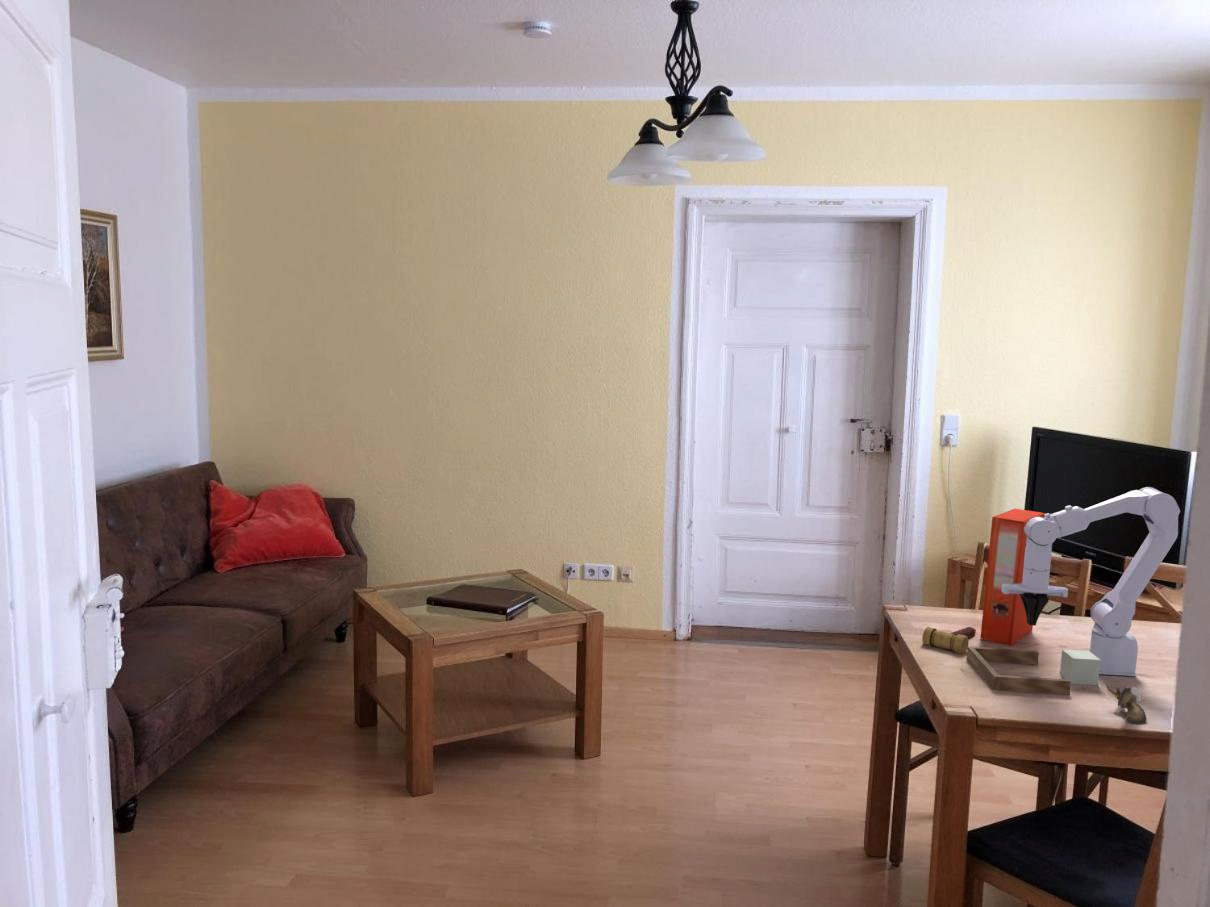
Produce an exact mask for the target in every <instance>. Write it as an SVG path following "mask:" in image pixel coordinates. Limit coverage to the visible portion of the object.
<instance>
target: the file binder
mask: <svg viewBox="0 0 1210 907" xmlns="http://www.w3.org/2000/svg"><path fill="white" fill-rule="evenodd" d="M1044 514H1046V513H1045V512H1039V511H1033V510H1029V509H1028V510H1027V509H1026V510H1025V509H1021V508H1012V509H1010V510H1007V511H1004V512H1002V513H1000V514H997V515H994V516H992V517H991V528H990V536H989V537H990V538H989V545H988V546H989V547H988V558H987V568H986V579H985V589H984V596H983V597H984V598H983V605H982V606H983V607H982V616H981V617H982V618H981V628H980V636H979V637H980V639H983V641H987V640H988V641H987V642H991V643H995V642H996V643H995V644H999V643H1000V645H1003V644H1004V646H1007V645H1008V646H1009V647H1012V646H1013V645H1015V644H1016V643H1018V642H1019V641H1020V640H1021V638H1022V637H1023V638H1025V637H1026V636H1027V635H1028V634H1030V633H1031V632H1032V631H1033V627H1034V626H1033V625H1029V624H1028V623H1027V617H1026V611H1025V608H1024V604H1023V602H1022V599H1021V597H1020V594H1012V593H1009V594H1004V593H1003V592H1002V584H1021V583H1022V579H1023V568H1024V557H1025V548H1026V541H1027V536H1026V534H1025V532H1024V527H1025V526H1026V524H1027V522H1029V520H1030V519H1032V518H1034V517H1042V518H1045V516H1044ZM1025 635H1026V636H1025ZM1023 638H1022V639H1023ZM1018 640H1019V641H1018ZM1014 643H1015V644H1014Z"/></svg>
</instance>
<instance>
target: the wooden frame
mask: <svg viewBox="0 0 1210 907" xmlns="http://www.w3.org/2000/svg"><path fill="white" fill-rule="evenodd" d="M1039 658H1040V652H1039V651H1038V650H1035V649H1034V650H1032V649H1018V648H1016V649H1015V648H1003V647H1001V648H1000V647H985V646H969V645H968V648H967V651H966V660H967V661H968V662H969V663H970V664H971V665H972V666H973V667H974V669H975V670H976V671H977V673H978V674H979V675H980V676H981V677H982V678H983V679H984V681H985V682H986V683H987V684H988V685H989V687H991V689H992V690H994V691H1006V692H1007V691H1009V692H1023V693H1038V694H1039V693H1040V694H1055V695H1056V694H1057V695H1070V694H1071V686H1072V684H1071V681H1070V680H1069V679H1065V678H1052V677H1038V676H1037V677H1035V676H1020V675H1018V676H1017V675H1004V674H1003V675H1001V674H998V673H997V672H996V670H995V669H993V667H992V666H991V665H990V664H989V663H988V662H993V663H1010V664H1028V665H1039Z"/></svg>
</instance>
